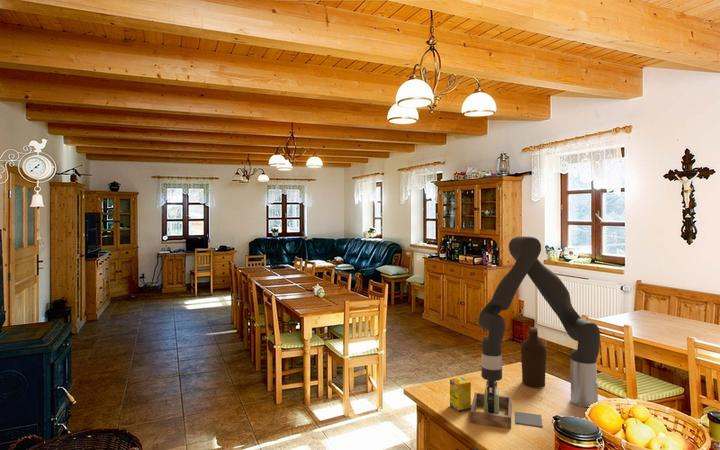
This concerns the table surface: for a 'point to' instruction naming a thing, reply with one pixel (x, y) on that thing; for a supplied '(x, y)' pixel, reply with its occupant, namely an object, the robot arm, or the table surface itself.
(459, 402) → the supplement box
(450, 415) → the table surface
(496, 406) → the block
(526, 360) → the olive oil
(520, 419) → the mat
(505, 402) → the frame
